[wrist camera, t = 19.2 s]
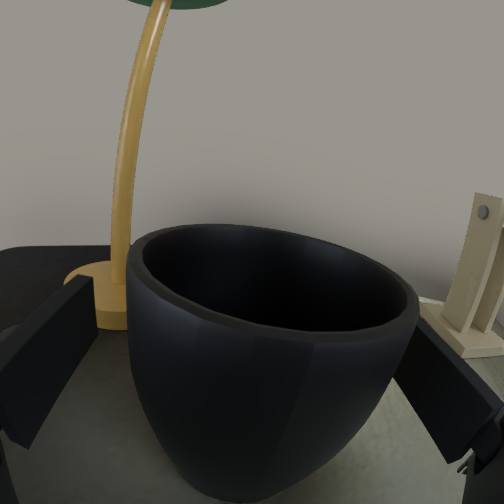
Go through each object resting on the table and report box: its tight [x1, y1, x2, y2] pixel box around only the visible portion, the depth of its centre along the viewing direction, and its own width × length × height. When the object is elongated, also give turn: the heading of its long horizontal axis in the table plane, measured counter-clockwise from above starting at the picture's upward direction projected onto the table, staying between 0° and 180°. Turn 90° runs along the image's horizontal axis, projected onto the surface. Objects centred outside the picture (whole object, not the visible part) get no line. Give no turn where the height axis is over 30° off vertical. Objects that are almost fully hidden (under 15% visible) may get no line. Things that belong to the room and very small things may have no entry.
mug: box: [126, 224, 420, 503], centre depth 11 cm, size 8×12×10 cm
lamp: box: [64, 0, 227, 330], centre depth 18 cm, size 12×12×36 cm
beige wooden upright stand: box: [419, 193, 504, 359], centre depth 23 cm, size 10×8×15 cm
